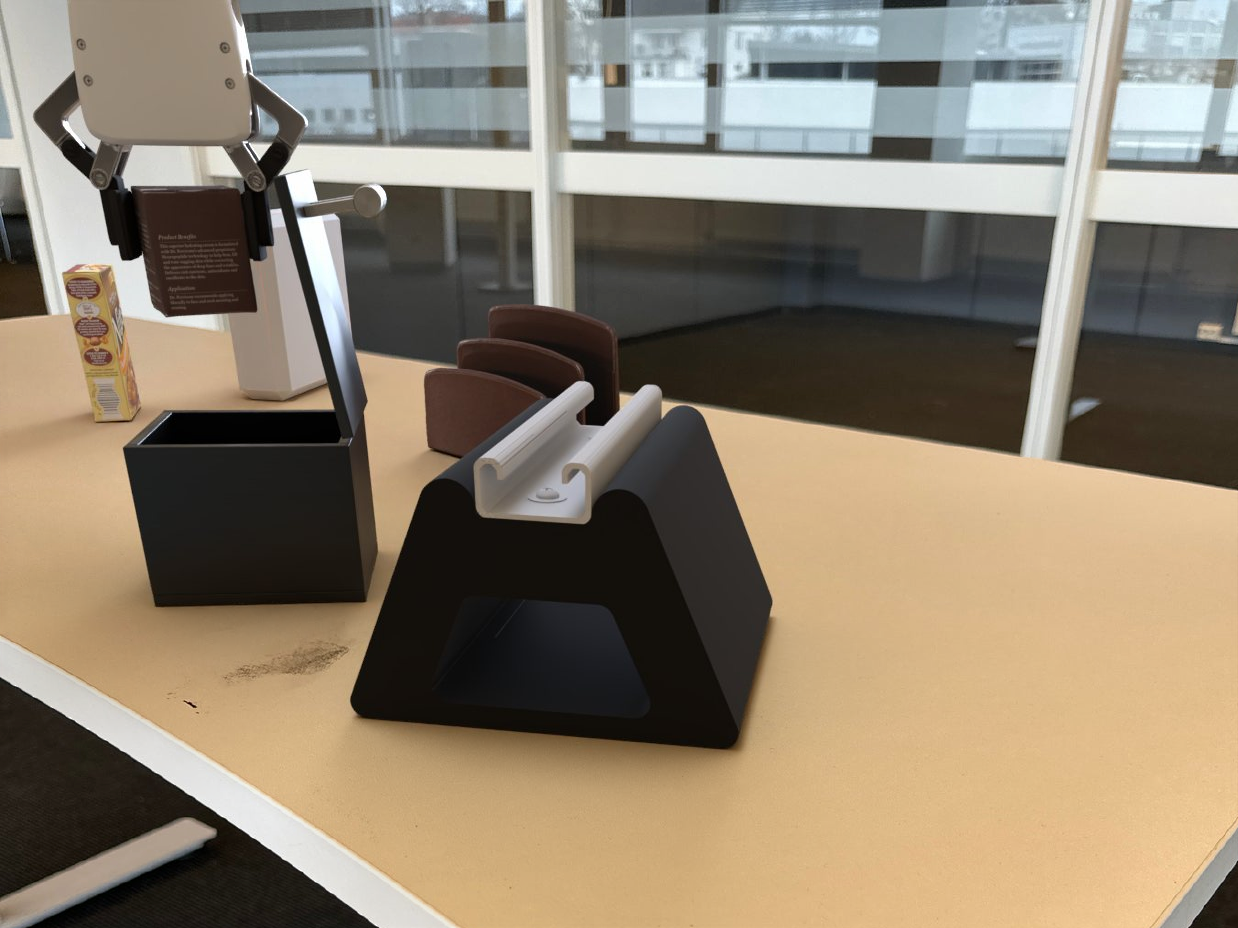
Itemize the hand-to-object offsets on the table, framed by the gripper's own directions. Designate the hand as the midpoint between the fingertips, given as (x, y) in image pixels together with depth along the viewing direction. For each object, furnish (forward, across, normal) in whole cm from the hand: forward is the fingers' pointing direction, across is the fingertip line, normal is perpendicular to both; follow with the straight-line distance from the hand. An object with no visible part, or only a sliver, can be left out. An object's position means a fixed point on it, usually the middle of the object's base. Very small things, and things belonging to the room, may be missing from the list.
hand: (195, 257), depth 81 cm
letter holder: (+22, -22, -38) cm, 49 cm away
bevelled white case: (+22, +6, -80) cm, 83 cm away
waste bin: (+22, -2, 0) cm, 22 cm away
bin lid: (+3, -8, 0) cm, 8 cm away
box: (+3, 0, 0) cm, 3 cm away
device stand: (+22, -24, +19) cm, 38 cm away
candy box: (+21, +24, -62) cm, 70 cm away
